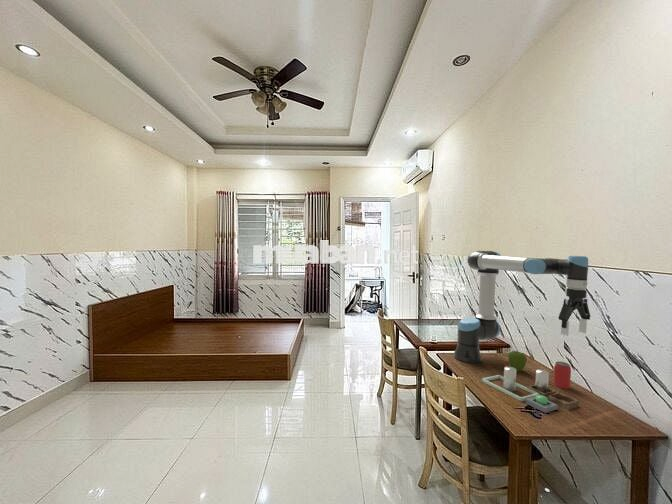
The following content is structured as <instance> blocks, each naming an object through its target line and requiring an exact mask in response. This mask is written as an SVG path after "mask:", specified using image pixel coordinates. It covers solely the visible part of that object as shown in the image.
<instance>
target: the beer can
mask: <svg viewBox="0 0 672 504" xmlns="http://www.w3.org/2000/svg"><path fill="white" fill-rule="evenodd" d="M553 367H554V368H553V383H552V384H553V385H554V386H555V387H557V388H560V389H564V390H569V389H571V377H572V375H571V374H572V368H571V364H570V363H567V362H564V361H556V362H555V364H554V366H553Z"/></svg>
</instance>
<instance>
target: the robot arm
mask: <svg viewBox="0 0 672 504" xmlns="http://www.w3.org/2000/svg"><path fill="white" fill-rule="evenodd" d="M467 265H468V266H469V267H470V268H471V269H473V270H474V271H475V270H476V271H477V273H478V274H479V290H478V291H479V292H478V293H479V295H478V313H477V314H476V315H475V318H474V317H465V318H461V319H459V321H458V325H457V326H458V327H457V329H458V332H457V345H456V346H455V347H456V348H455V350H454V353H453V357H454V358H455V359H457V360H458V361H461V362H465V363H471V364H477V363H481V362H482V355H481V351H480V341H482V340H484V341H485V340H491V339H492V340H493V339H496V338H497V337H499V335H500V334H501V325H500V324H499V322H498V321H497V317H496V316H495V302H496V300H495V299H496V281H497V279H496V277H497V275H499V273H500V271H499V270H501V271H509V272H517V273H518V272H519V273H528V274H530V275H563V276H566V278H567V279H566V289H565V290H566V291H565V295H566V297H568V298H564V299H563V304H562V307H561V310H560V312H559V315H558V320H559V321H561V328H560V331H561V332H560V334H561V335H564V336H569V334H570V333H569V331H570V321H569V320H570V317H571V316H572V314H573V312H574V311H576V310H577V312H578V315H579V316H580V318H579V326H578V332H579V333H583V334H587V327H588V326H587V325H588V324H587V323H588V321H589V320H591V312H590V308H589V305H588V299H587V292H588V291H587V288H588V287H587V286H588V272H589V257H587V256H585V255H584V256H583V255H568V258H567V259H566V258H565V259H562V258H552V257H550V258H549V257H547V258H537V257H523V256H507V255H501V254H500V252H497V251H495V250H475V251H472V252H471V253H469V254H468V257H467Z"/></svg>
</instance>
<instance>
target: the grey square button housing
mask: <svg viewBox="0 0 672 504" xmlns="http://www.w3.org/2000/svg"><path fill="white" fill-rule="evenodd" d="M525 404H527V405H528V406H531V407H532V408H534V409H536V410H539V411H541V412H542V413H545V414H546V413H550V412H553V411H555V410H558V407H559V406H558V405H557V404H555V403H553V402H550V401H547V405H545V406H543V405H541V404H539V403H537V402H536V396H535V397H532V398H528V399H526V400H525Z"/></svg>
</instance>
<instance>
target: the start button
mask: <svg viewBox="0 0 672 504" xmlns="http://www.w3.org/2000/svg"><path fill="white" fill-rule="evenodd" d="M547 401H548V398H547V397H545V396H543V395H536V402H537V403H539V404H541V405H543V406H545V405H547Z"/></svg>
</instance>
